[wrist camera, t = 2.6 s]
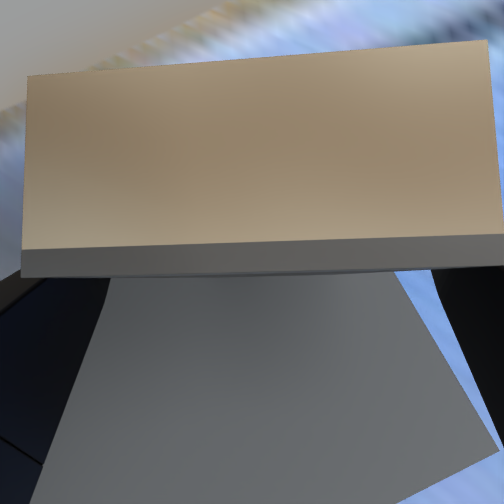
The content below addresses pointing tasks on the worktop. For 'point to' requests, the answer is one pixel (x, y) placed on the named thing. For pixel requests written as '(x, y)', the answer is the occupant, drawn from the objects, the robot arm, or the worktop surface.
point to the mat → (260, 397)
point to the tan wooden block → (265, 167)
